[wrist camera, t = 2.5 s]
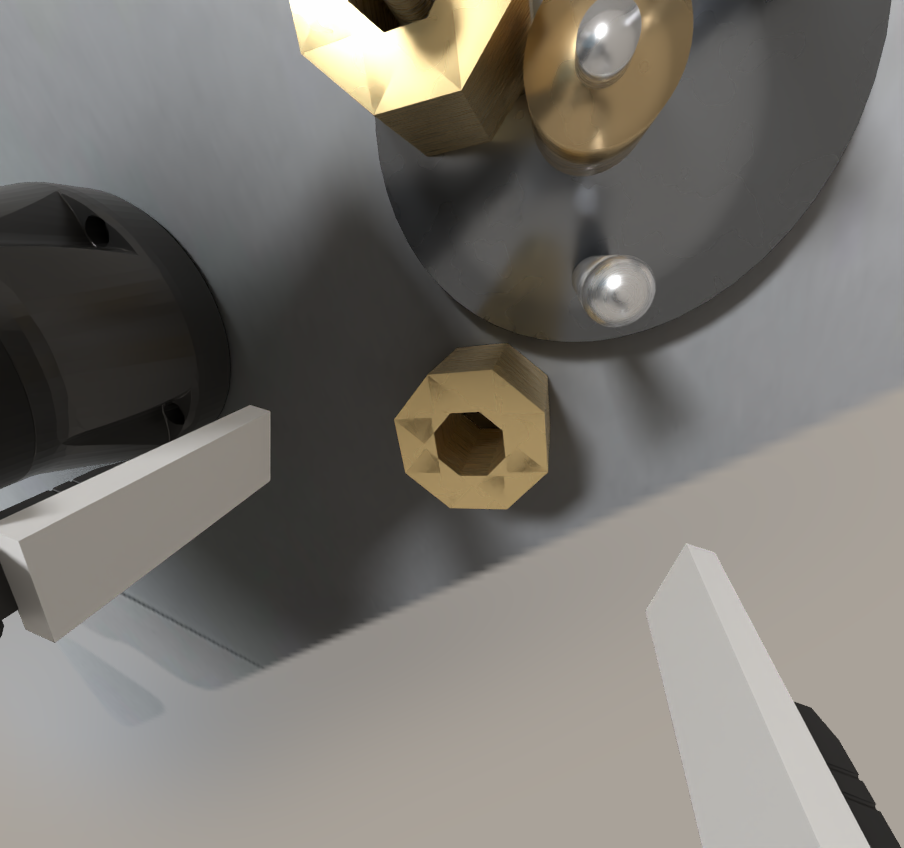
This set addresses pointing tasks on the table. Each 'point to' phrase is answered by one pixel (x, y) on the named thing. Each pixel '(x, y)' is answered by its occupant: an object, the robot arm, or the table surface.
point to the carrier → (638, 158)
